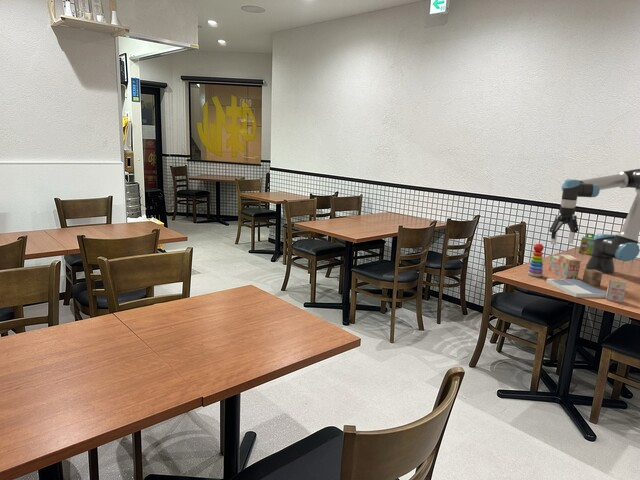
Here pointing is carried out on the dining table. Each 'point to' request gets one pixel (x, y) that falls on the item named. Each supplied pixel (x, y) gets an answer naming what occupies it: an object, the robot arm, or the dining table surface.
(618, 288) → the white red printed box
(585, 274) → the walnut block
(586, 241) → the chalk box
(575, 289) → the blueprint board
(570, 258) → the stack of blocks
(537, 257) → the stacking toy
